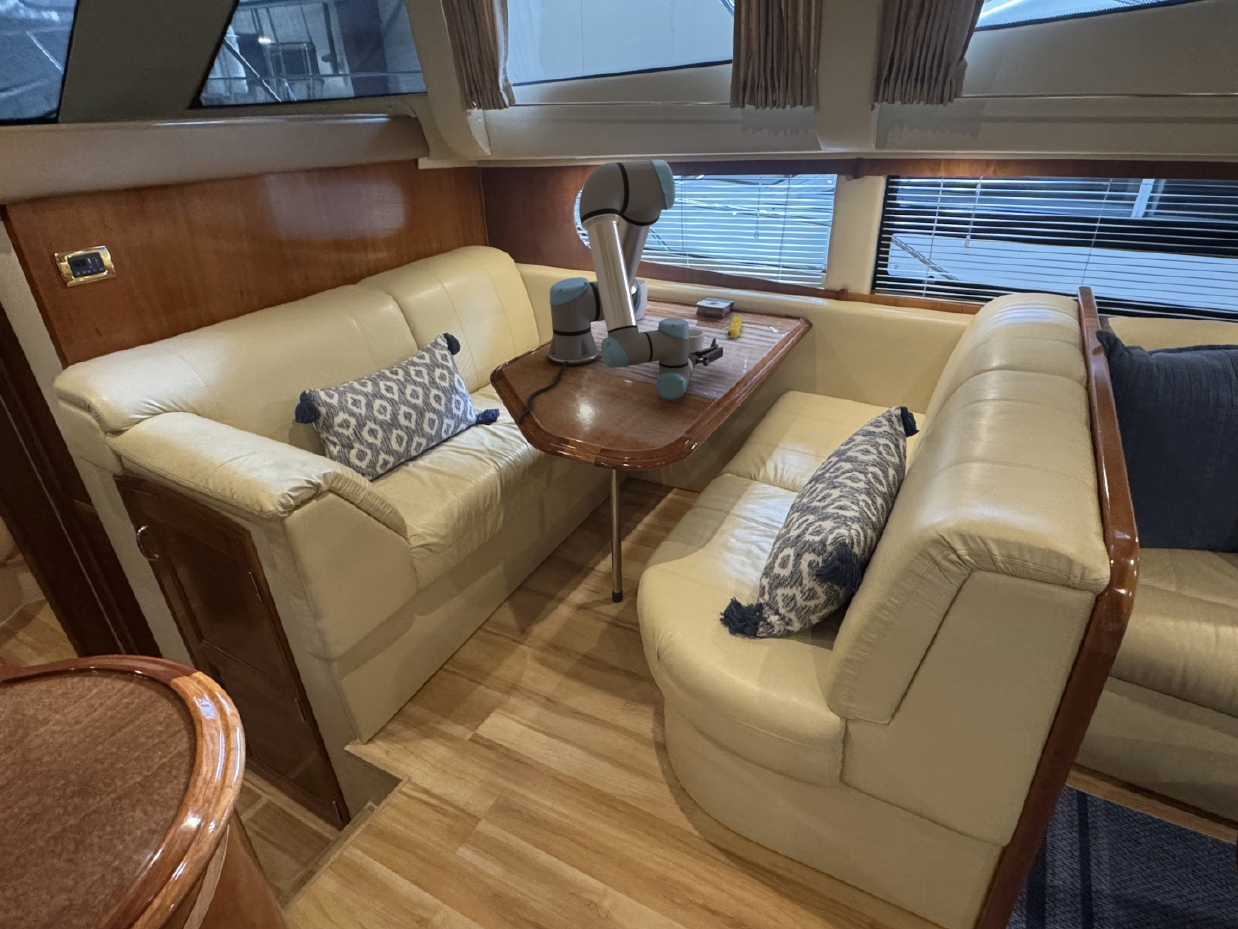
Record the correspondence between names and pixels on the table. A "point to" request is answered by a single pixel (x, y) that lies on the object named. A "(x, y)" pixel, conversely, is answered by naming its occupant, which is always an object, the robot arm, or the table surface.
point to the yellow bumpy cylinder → (734, 327)
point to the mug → (642, 298)
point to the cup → (696, 339)
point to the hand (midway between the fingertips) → (691, 341)
